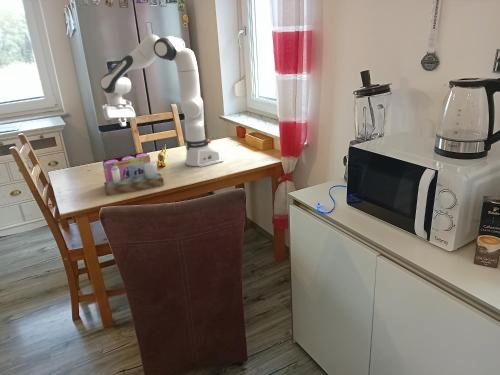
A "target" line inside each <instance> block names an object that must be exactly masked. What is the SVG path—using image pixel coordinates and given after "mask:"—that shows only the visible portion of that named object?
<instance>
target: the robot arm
mask: <svg viewBox="0 0 500 375" xmlns="http://www.w3.org/2000/svg"><path fill="white" fill-rule="evenodd" d="M157 57H158V58H160V59H162V60H167V61H170V62H171V61H174V63H175V65H176V72H177V76H178V77H177V78H178V84H179V96H180V106H181V112H182V114H183V115H184V132H185V141H184V142H185V144H184V145H185V150H186V154H185V161H184V162H185V163H184V164H186V165H187V166H191V167H192V166H193V167H198V168H202V167H206V166H207V167H208V166H210V165H215V164H219V163H223V162H224V158H223V156H221V155H220V154H219V151H218V149H217V148H215V147H214V146H213V145H211V143H212V140H210V139H209V138H206V135H205V132H206V131H205V116H204V114H205V113H204V112H205V111H204V101H203V99H202V97H201V87H200V77H199V76H200V75H199V70H198V64H197V60H196V56H195V53H194V51H193V50H191V49H190V48H186V43H185V41H184V40H183V39H182V38H181V37H179V36H176V35H175V36H164V37H159V36H158V35H157V34H151V33H150V34H148V35H146V36H145V37H144V38H143V39H142V40H141V41H140V43H139V44H138V45H137V46H136V48H135V49H134V50H132V51H131V52H130V53H129V54H127V55H125V56H124V57H123V58H122V59H120V60H119V61H118V63H117V64H116V65H115V66H113V68H112V69H111V70H110V71H109V72H108V73H106V74H104V75H103V76H102V77H101V79H100V87H101V89H102V90H103V92H104V96H106V101H107V103H105V104H102V106H101V109H102V113H103V117H104V120H106V121H115V120H116V121H117V123H118V124H119V125H120V127H127V120H134V119H135V118H136V112H135V109H134V107H133V106H132V102H131V101H129V100H127V99H124V98H123V95H127V94H129V93H130V92H131V90H132V87H133V85H132V81H131V79H130V78H129V77H126V76H124V75H125V74H126V73H128V72H129V71H132V70H137V69H145V68H148V67H149V66H150V65H152V64H153V62H154V61H155V60H156V58H157Z"/></svg>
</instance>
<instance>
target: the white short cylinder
mask: <svg viewBox="0 0 500 375" xmlns="http://www.w3.org/2000/svg"><path fill="white" fill-rule="evenodd" d="M143 165H144V172H145V178H146V179H154V178H157V177H158V164H157V162H155V161H150V162H147V163H144V164H143Z"/></svg>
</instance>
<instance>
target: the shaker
mask: <svg viewBox="0 0 500 375" xmlns="http://www.w3.org/2000/svg"><path fill="white" fill-rule="evenodd" d="M111 171H112V177H113V183H114V184H119V183H121V178H120V172H119V168H118V167H117V166H113V167H112V168H111Z"/></svg>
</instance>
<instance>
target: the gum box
mask: <svg viewBox="0 0 500 375" xmlns="http://www.w3.org/2000/svg"><path fill="white" fill-rule="evenodd" d="M101 161H102V167H103V171H104V178H105V182H110V181H113V177H112V171H111V168H112V167H113V166H117V167H118V168H119V172H120V178H121V180H122V179H127V178H133V177H139V176H145V172H144V165H143V164H144V163H147V162H151V157H150V154H148V152H146V151H144V152H137V153H132V154H128V155H122V156H118V157H112V158H111V157H110V158H107V159H102V160H101Z"/></svg>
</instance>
